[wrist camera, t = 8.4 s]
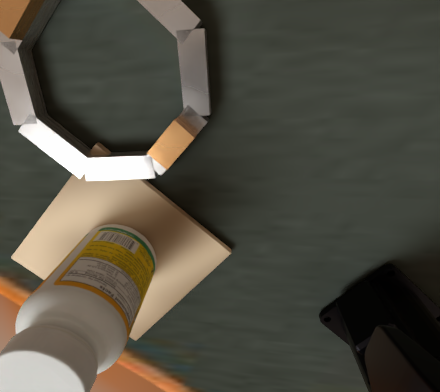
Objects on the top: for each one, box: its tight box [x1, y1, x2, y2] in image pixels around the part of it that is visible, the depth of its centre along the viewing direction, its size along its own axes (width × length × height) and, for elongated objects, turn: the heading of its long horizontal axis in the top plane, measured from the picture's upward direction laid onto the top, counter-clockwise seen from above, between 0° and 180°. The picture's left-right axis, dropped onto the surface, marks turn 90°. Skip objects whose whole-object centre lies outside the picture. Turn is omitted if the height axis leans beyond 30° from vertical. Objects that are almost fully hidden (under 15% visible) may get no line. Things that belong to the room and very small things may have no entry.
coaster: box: [11, 142, 231, 341], centre depth 22 cm, size 11×11×1 cm
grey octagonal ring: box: [0, 0, 211, 181], centre depth 17 cm, size 11×11×2 cm
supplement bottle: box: [0, 224, 157, 392], centre depth 17 cm, size 5×5×10 cm
